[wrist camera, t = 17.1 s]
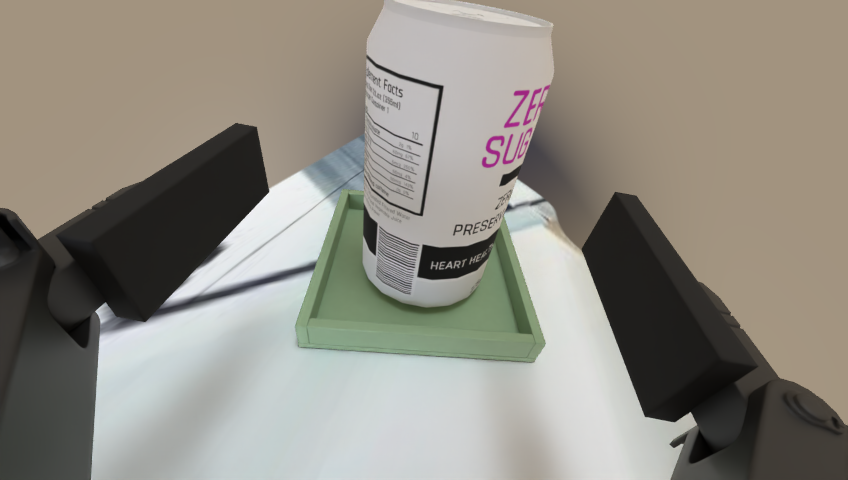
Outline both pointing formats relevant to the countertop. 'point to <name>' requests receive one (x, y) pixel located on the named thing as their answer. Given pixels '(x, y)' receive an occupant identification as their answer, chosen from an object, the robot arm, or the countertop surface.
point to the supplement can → (445, 140)
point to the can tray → (408, 324)
